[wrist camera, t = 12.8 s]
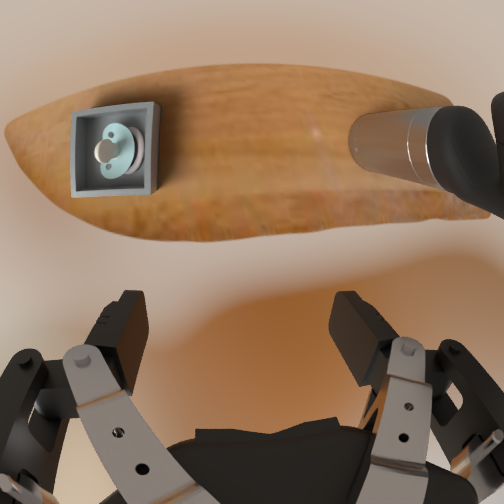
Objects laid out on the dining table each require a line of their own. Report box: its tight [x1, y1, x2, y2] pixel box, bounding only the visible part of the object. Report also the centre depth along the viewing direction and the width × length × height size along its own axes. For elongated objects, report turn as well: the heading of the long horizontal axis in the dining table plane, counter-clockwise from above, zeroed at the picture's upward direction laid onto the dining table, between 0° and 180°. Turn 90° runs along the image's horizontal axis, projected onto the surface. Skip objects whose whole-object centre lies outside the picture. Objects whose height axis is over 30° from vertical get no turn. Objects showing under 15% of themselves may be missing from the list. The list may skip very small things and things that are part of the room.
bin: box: [70, 102, 161, 198], centre depth 30 cm, size 12×12×4 cm
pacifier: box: [95, 123, 144, 179], centre depth 29 cm, size 7×6×6 cm
